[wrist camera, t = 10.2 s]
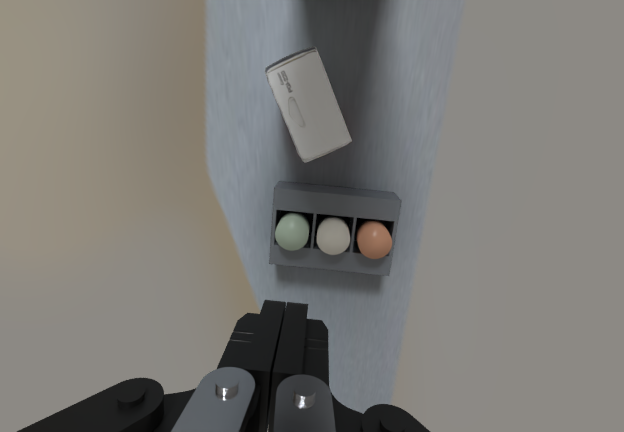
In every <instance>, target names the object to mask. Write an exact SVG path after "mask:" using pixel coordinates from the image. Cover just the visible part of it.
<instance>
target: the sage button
mask: <svg viewBox="0 0 624 432" xmlns="http://www.w3.org/2000/svg"><path fill="white" fill-rule="evenodd" d="M309 229H310V225H309V221H308V219H307V218H306V217H305V216H304V215H303V214H301V213H299V212H289V213H286V214H285V215H284V216H282V218H281V219H280V221H279V223H278V226H277V228H276V231H275V238H276V241H277V243H278V244H279V245H280V246H281V247H282V248H284V249H286V250H290V251H294V250H298V249H300V248H302V247H303V246H304V245H305V244H306V243H307V240H308V236H309Z"/></svg>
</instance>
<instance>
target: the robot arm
mask: <svg viewBox="0 0 624 432" xmlns="http://www.w3.org/2000/svg"><path fill="white" fill-rule="evenodd" d="M285 309H286V311H285ZM307 309H308V304H301V303H291V302H287V306H286V302H281V301H271V300H265V301H264V303H263V306H262V309H261V312H260V314H254V313H247V314H245V315H244V316H243V317H242V318H240V319H239V320H238V321H237V323H236V326H235V328H234V331H233V333H232V335H231V337H230V341H229V342H228V344H227V346H226V349H225V351H224V353H223V355H222V358H221V360H220V363H219V365H218V367H217V369H216V370H213V371H212V372H210V373H208V374H207V375H206V376H205V377H203V379H202V380H201V382H200V383H199V385H198V387H197V388H195V389H193V390H189V391H185V392H179V393H173V394H165V395H164V391H163V388H162V386H161V384H160V383H158V382H157V381H155V380H152V379H148V378H135V379H129V380H126V381H123V382H121V383H118V384H116V385H114V386H112V387H110V388H108V389H106V390H103V391H102V392H99V393H97V394H95V395H93V396H91V397H89V398H87V399H85V400H83V401H80V402H78V403H76V404H74V405H72V406H70V407H68V408H66V409H63V410H61V411H59V412H57V413H55V414H53V415H51V416H49V417H47V418H45V419H42V420H40V421H38V422H36V423H34V424H32V425H30V426H28V427H26V428H23V429H22V430H19V431H17V432H267V430H268V432H430V431H429V430H428V429H426V428H425V427H424V426H423V425H422V424H421V423H420V422H418V421H417V420H416V419H415V418H414V417H413V416H411V415H410V414H409V413H408V412H406V411H404V410H403V409H401V408H399V407H396V406H393V405H388V404H378V405H374V406H372V407H370V408H368V409H367V410H366V411H365V412H364V414H362V413H359V412H357V411H354V410H352V409H349V408H347V407H346V406H344V405H342V404H341V403H340V402H338V401H337V400H336V399H335V397H334V396H333V395H332V393H331V391H330V388H329V358H328V329H327V327H326V326H325V324H324V323H323V321H322V320H313V319H307ZM268 424H269V428H268Z"/></svg>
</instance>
